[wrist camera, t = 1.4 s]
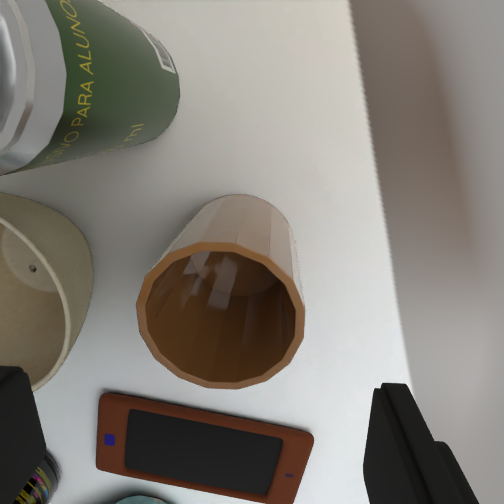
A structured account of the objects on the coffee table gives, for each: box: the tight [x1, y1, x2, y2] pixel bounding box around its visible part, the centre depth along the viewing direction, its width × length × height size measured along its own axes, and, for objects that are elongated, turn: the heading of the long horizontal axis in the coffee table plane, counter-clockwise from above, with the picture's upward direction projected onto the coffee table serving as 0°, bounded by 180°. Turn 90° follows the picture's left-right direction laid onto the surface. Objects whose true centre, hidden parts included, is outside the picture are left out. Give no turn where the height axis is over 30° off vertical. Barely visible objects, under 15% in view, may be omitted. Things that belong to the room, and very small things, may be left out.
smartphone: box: [96, 393, 314, 504], centre depth 26 cm, size 7×1×15 cm
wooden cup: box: [136, 194, 305, 390], centre depth 17 cm, size 6×6×8 cm
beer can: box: [0, 0, 180, 176], centre depth 13 cm, size 5×5×12 cm
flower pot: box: [0, 192, 93, 392], centre depth 19 cm, size 10×10×7 cm
